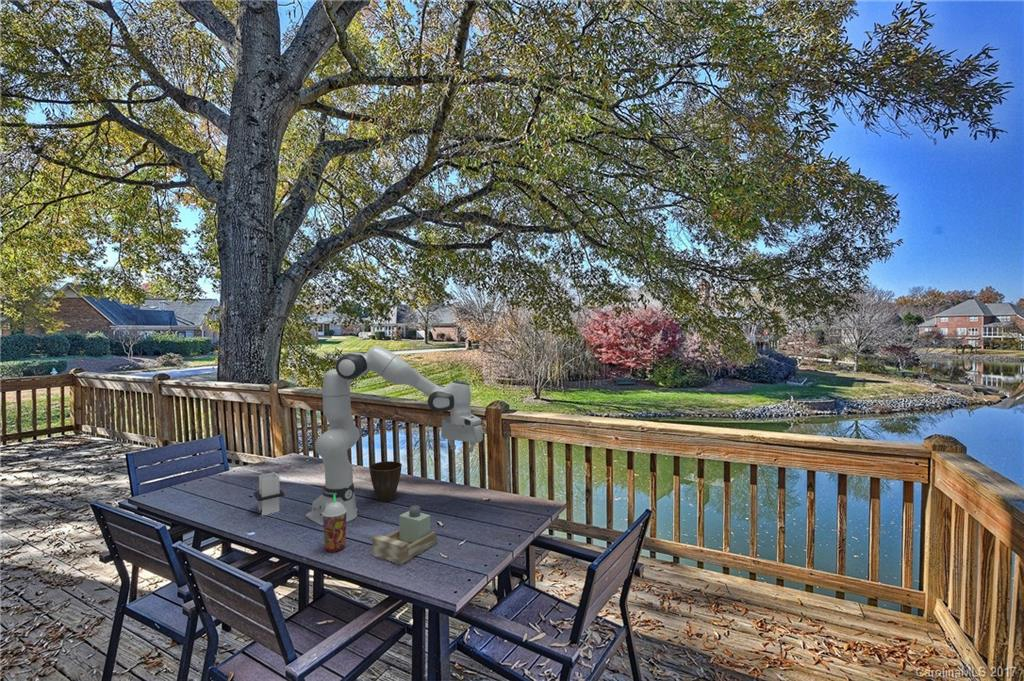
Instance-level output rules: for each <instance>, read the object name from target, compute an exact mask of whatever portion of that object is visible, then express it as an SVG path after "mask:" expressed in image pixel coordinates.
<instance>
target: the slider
mask: <svg viewBox="0 0 1024 681" xmlns="http://www.w3.org/2000/svg"><path fill="white" fill-rule="evenodd" d="M408 508H409V509H408V511H406V512H404V513H401V514H400V515H398V516H399V517H398V518H399V520H398V521H399V522H398V523H399V524H398V525H399V526H398V527H399V528H398V529H399V539H400V540H404V541H407V542H410V543H414V542H415V541H417V540H419V539H420V538H422V537H424V536H426V535H427V534H429V533H431V532H432V531H431V514H426V513H423V512H421V506H420V505H417V504H416V505H410V506H409V507H408Z"/></svg>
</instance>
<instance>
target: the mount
mask: <svg viewBox="0 0 1024 681" xmlns="http://www.w3.org/2000/svg"><path fill="white" fill-rule="evenodd" d="M430 532H431V533H429V534H427V535H426V536H424V537H422V538H420V539H419V540H417V541H415V542H414V543H410V542H407V541H404V540H400V539H399V528H398V529H397V530H394V531H393V532H391V533H389V534H387V535H381V534H379V533H378V534H377V535H374V536H373V537H371V546H372V547H371V549H372V550H371V551H372V552H371V553H372V554H371V555H372V556H373V557H376V558H378V557H379V558H378V559H381V558H383V559H382V560H384V559H386V560H385V561H387V560H389V561H388V562H390V561H392V562H391V563H393V562H395V563H394V564H396V563H398V564H397V565H399V564H401V565H400V566H403V565H405V564H406V563H408V562H409V561H411V560H413V559H414V558H415V557H414V556H416V555H418V554H419V555H421V554H422V553H424V552H426V551H427V550H429V549H431V548H432V547H434V546H436V545H437V544H438V539H437V531H435V530H434V531H433V530H432V531H430ZM436 543H437V544H436ZM433 545H434V546H433ZM431 546H432V547H431ZM430 547H431V548H430ZM428 548H429V549H428ZM426 549H427V550H426ZM425 550H426V551H425ZM423 551H424V552H423ZM421 552H422V553H421ZM420 553H421V554H420ZM419 555H418V556H419ZM413 557H414V558H413ZM416 557H417V556H416ZM412 558H413V559H412ZM410 559H411V560H410ZM408 560H409V561H408ZM407 561H408V562H407ZM405 562H406V563H405ZM404 563H405V564H404ZM402 564H403V565H402Z"/></svg>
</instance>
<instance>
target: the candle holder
mask: <svg viewBox="0 0 1024 681" xmlns="http://www.w3.org/2000/svg"><path fill="white" fill-rule="evenodd" d="M258 485H259V488H258V489H259V490H258V491H255V492H253V496H254V498H255V499H256V500H257V501H258V512H261V513H260V515H261V517H264V516H263V515H266V516H268V515H267V514H270V513H274V512H278V511H280V512H281V510H280V497H283V496H285V492H284V491H283V490H282V489H280V475H279V474H277V473H276V472H274V471H272V472H268V473H263V474H258ZM261 510H262V511H261ZM278 513H279V512H278ZM274 514H275V513H274ZM270 515H271V514H270Z"/></svg>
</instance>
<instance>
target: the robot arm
mask: <svg viewBox="0 0 1024 681" xmlns="http://www.w3.org/2000/svg"><path fill="white" fill-rule="evenodd" d="M370 372H374V373H376V374H377V375H378V376H380V377H381V378H383V380H386V381H388V382H390V383H392V384H395V385H405V386H410V387H413V388H415V389H416V390H417V391H419V392H421V393H423V394H425V395H426V396H427V406H428V407H429V409H430V410H432V411H433V412H435V413H443V412H447V411H450V417H444V418H442V420H441V431H440V436H441V438H442V439H443V440H447V441H448V444H449V446H450V450H451V451H455V450H456V447H457V446H456V444H455V443H454V441H460V442H466V443H469V445H470V446H469V447H468V448H467V452H468V453H474V447H475V445H476V444H478V443H481V442H482V441H483V440H484V436H483V435H484V434H483V433H484V431H483V427H482V424H481V423H482V419H481V418H480V417H479V416H476V415H474V414H473V413H472V410H471V409H472V408H471V403H472V396H471V387H470V385H469V384H468V383H467V382H466V381H465V382H464V381H462V380H452V381H451V382H450V383H449V384H447V385H440V384H437V383H435V382H434V381H432V380H430V379H429V378H427V377H426V376H424V375H422V374H421V373H419V372H418V371H417V370H416V369H415V368H413V367H412V366H411V365H410V364H409V363H408V362H406V361H405V360H404V359H403V358H401V357H400V356H399V355H397V354H395V352H392V351H390V350H389V349H387V348H385V347H383V346H380V345H375V346H372V347H370V348H369V349H368V350H367V352H366V353H365V352H361V351H353V352H350V353H346V354H344V355H341V357H339V358H338V359H337V361H336V364H335V368H333V369H329V370H327V371H326V372H325V373H324V375H323V380H322V390H321V392H322V393H321V394H322V412H323V416H324V417H325V418H326V419H327V421H328V424H329V430H327V431H324V432H323V433H322V434H321V435H320V436H318V437H317V439H316V441H315V444H314V448H315V451H316V453H317V455H319V456H320V457H321V459H322V462H323V466H324V480H325V481H324V482H325V483H324V484H325V485H324V486H322V487H321V490H323V491H322V494H321V495H320V496H318V497H317V498H316V499H314V501H313V502H312V504H311V511H309V512H307V513H306V514H305V517H306V518H307V517H308V518H307V519H309V520H310V521H312V522H314V523H315V524H317V525H320V526H324V524H323V512H324V510H325V508H326V506H327V505H328V504H330V503H332V502H334V495H335V499H336V502H340V503H342V504H343V505H344V506H345V509H347V515H346V523H348V522H351V521H353V520H354V519H356V518H357V517H358V510H359V508H358V507H357V504H356V501H357V500H356V494H355V493H354V492H355V483H354V482H353V481H354V479H353V478H354V477H353V474H354V472H353V471H354V470H353V464H352V463H351V462H350V460H349V457H348V450H349V449H352V447H354V446H355V445H356V444H357V442H358V441H359V439H360V430H359V428H358V427H357V426H356V425H355V421H354V418H353V415H352V414H353V413H352V408H351V407H352V405H351V389H350V388H351V382H352V380H355V379H356V380H357V379H360V378H362V377H363V376H365V375H367V374H369V373H370Z"/></svg>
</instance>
